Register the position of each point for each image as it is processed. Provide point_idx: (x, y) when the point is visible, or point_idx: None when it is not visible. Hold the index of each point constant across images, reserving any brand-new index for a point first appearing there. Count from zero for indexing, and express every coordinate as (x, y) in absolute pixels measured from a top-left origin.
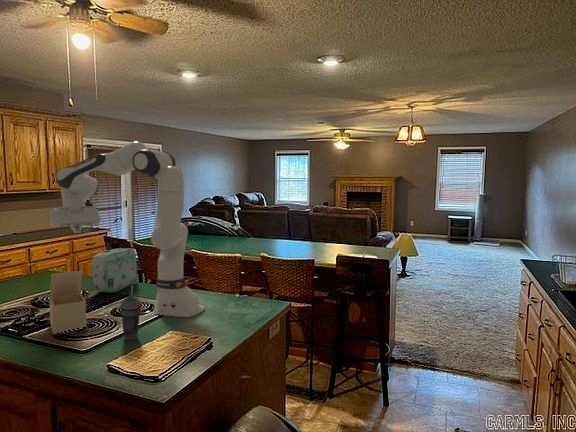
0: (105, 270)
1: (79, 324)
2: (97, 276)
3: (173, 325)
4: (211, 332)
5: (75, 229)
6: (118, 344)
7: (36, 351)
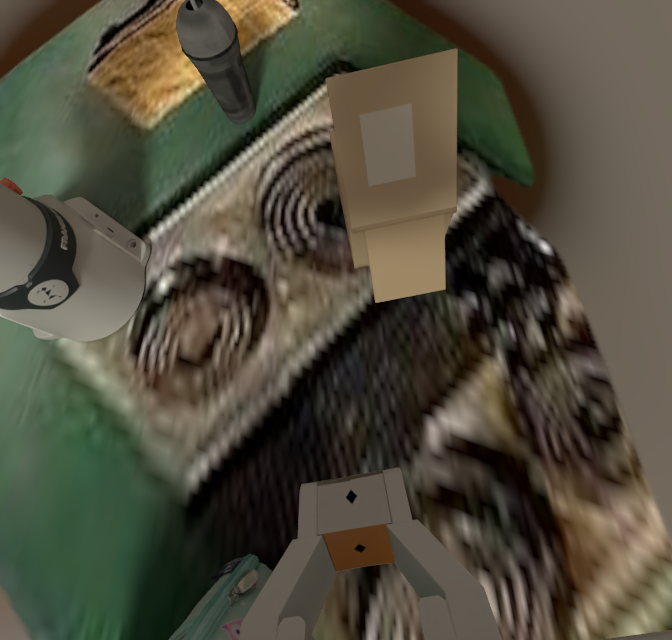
0: (227, 595)
1: None
2: None
3: (133, 157)
4: (74, 97)
5: (381, 492)
6: (270, 84)
7: None
